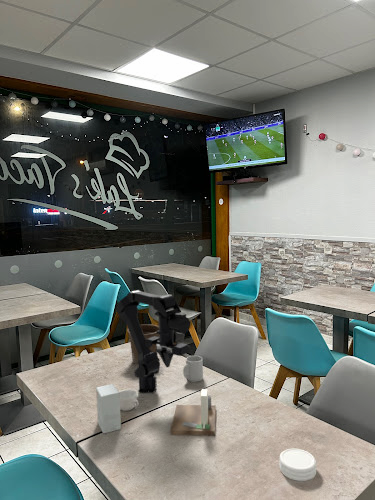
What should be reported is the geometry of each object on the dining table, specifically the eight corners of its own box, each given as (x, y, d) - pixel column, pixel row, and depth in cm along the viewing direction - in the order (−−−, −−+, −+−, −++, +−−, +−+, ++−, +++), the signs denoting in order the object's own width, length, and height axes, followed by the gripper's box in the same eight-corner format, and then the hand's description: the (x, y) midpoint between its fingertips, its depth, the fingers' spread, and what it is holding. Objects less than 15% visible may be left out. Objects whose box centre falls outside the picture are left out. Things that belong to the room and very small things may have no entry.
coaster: (309, 458, 115) (309, 446, 114) (321, 481, 105) (321, 469, 105) (275, 459, 115) (275, 448, 114) (284, 483, 105) (284, 470, 104)
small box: (121, 429, 133) (119, 392, 131) (103, 434, 130) (101, 396, 129) (115, 418, 140) (113, 383, 139) (97, 422, 137) (95, 387, 136)
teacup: (112, 409, 146) (111, 395, 146) (126, 401, 152) (126, 387, 152) (131, 417, 140) (130, 402, 140) (145, 408, 147) (145, 394, 146)
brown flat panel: (170, 434, 128) (170, 429, 128) (176, 408, 145) (176, 404, 145) (214, 435, 127) (214, 430, 127) (215, 409, 144) (215, 404, 144)
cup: (206, 378, 171) (205, 358, 170) (190, 385, 164) (189, 365, 163) (194, 373, 176) (194, 354, 175) (178, 380, 169) (177, 360, 169)
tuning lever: (201, 404, 144) (201, 378, 143) (211, 405, 144) (210, 378, 143) (198, 429, 128) (197, 400, 127) (209, 429, 128) (208, 400, 127)
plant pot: (168, 359, 194) (167, 328, 192) (143, 370, 182) (142, 336, 180) (147, 352, 205) (145, 322, 203) (122, 361, 193) (120, 329, 192)
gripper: (198, 326, 150) (199, 365, 152) (163, 319, 162) (164, 355, 164) (179, 334, 142) (180, 375, 143) (143, 325, 154) (145, 363, 155)
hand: (167, 366), depth 152 cm, fingers closed
